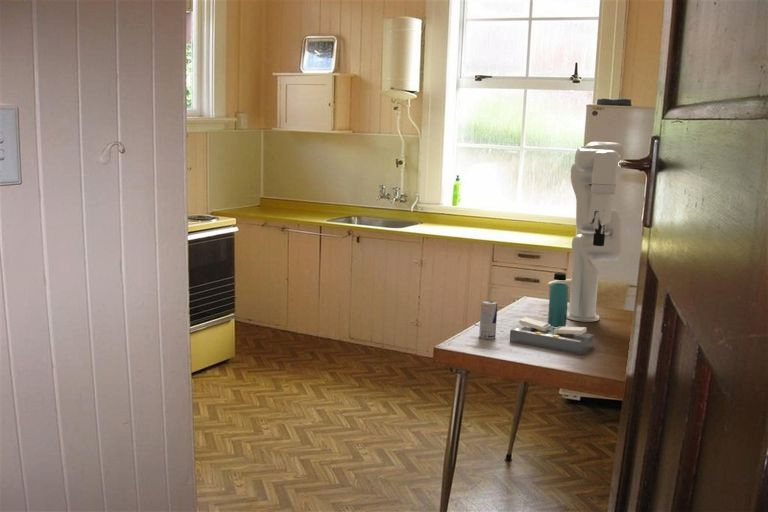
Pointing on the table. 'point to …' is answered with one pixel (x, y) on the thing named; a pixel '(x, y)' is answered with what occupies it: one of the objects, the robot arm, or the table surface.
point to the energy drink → (488, 319)
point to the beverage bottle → (558, 302)
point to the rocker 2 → (570, 330)
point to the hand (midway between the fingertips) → (598, 245)
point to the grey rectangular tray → (552, 339)
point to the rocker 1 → (534, 324)
